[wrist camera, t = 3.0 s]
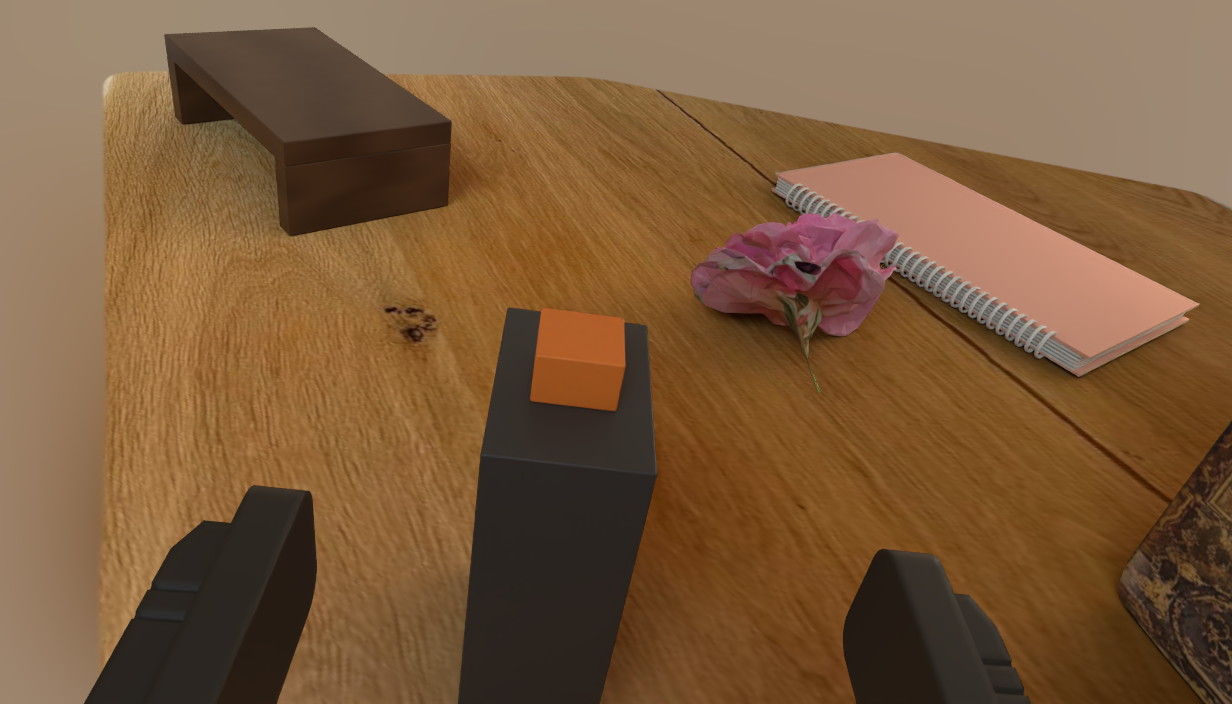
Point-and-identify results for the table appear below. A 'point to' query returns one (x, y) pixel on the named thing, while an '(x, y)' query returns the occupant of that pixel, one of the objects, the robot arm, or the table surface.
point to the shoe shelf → (317, 123)
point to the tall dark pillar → (557, 507)
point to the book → (1190, 578)
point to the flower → (800, 274)
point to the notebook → (994, 261)
